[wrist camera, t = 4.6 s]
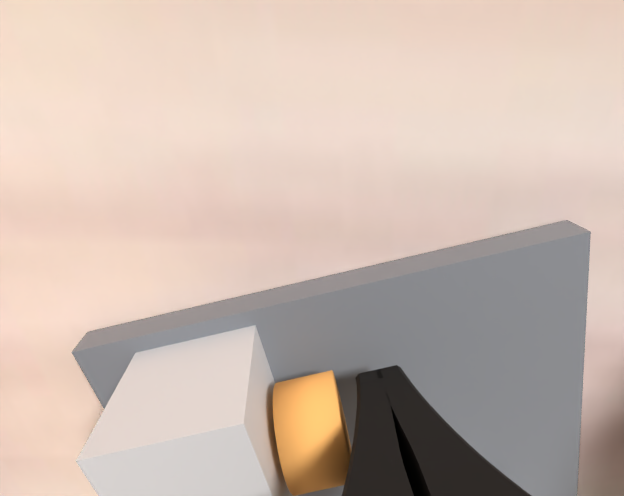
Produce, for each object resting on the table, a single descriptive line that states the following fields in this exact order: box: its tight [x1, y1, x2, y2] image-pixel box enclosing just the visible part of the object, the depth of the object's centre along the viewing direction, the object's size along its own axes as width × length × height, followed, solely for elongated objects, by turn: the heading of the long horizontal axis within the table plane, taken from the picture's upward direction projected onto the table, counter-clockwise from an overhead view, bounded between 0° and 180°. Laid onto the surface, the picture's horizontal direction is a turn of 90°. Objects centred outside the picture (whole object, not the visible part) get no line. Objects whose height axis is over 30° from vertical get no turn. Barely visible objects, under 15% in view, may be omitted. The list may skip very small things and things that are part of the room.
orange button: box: [273, 370, 352, 496], centre depth 11 cm, size 2×3×3 cm, turn 13°
